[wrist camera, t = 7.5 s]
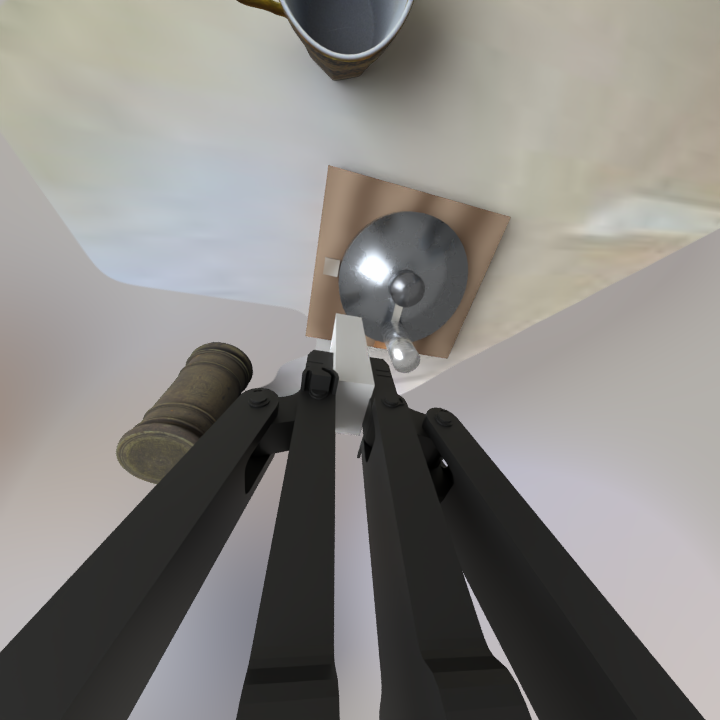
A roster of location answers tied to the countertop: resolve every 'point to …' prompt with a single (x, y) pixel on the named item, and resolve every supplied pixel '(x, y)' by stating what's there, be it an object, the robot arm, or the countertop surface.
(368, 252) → the dial
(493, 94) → the countertop surface
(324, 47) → the ceramic cup
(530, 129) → the countertop surface
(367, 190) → the stand
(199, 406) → the container
